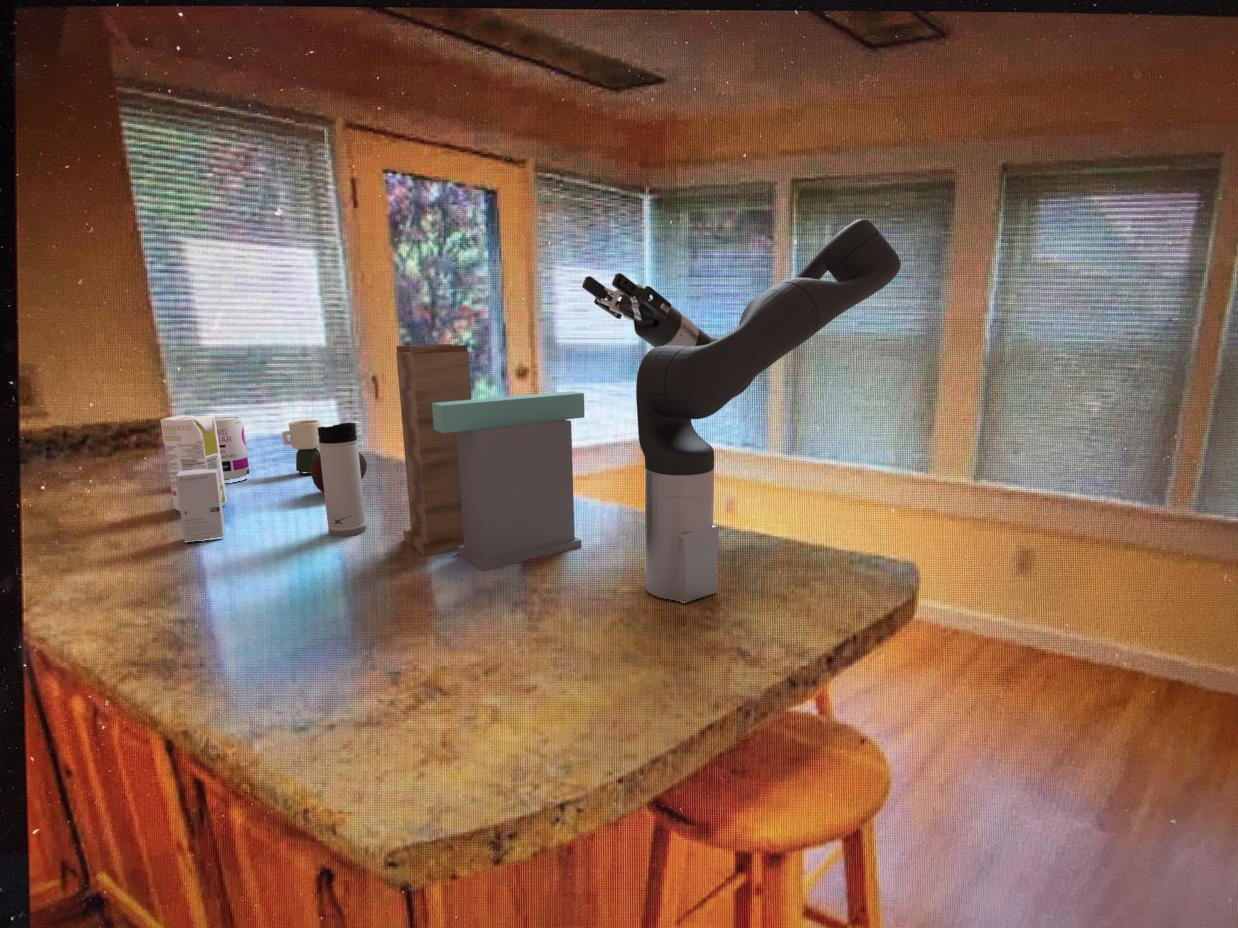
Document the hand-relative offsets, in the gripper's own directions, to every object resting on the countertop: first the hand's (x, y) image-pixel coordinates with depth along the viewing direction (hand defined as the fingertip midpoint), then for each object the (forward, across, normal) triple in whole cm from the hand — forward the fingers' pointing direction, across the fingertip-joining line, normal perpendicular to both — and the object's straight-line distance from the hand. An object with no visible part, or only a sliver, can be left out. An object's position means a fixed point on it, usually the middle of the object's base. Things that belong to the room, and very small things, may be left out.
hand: (599, 279), depth 108 cm
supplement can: (+19, +90, -61) cm, 110 cm away
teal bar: (+3, +2, -27) cm, 27 cm away
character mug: (+5, +86, -53) cm, 101 cm away
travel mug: (+9, +30, -55) cm, 63 cm away
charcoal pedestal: (-8, +2, -45) cm, 46 cm away
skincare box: (+27, +42, -66) cm, 83 cm away
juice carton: (+26, +65, -65) cm, 96 cm away
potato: (+4, +60, -52) cm, 80 cm away
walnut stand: (-1, +14, -49) cm, 51 cm away
